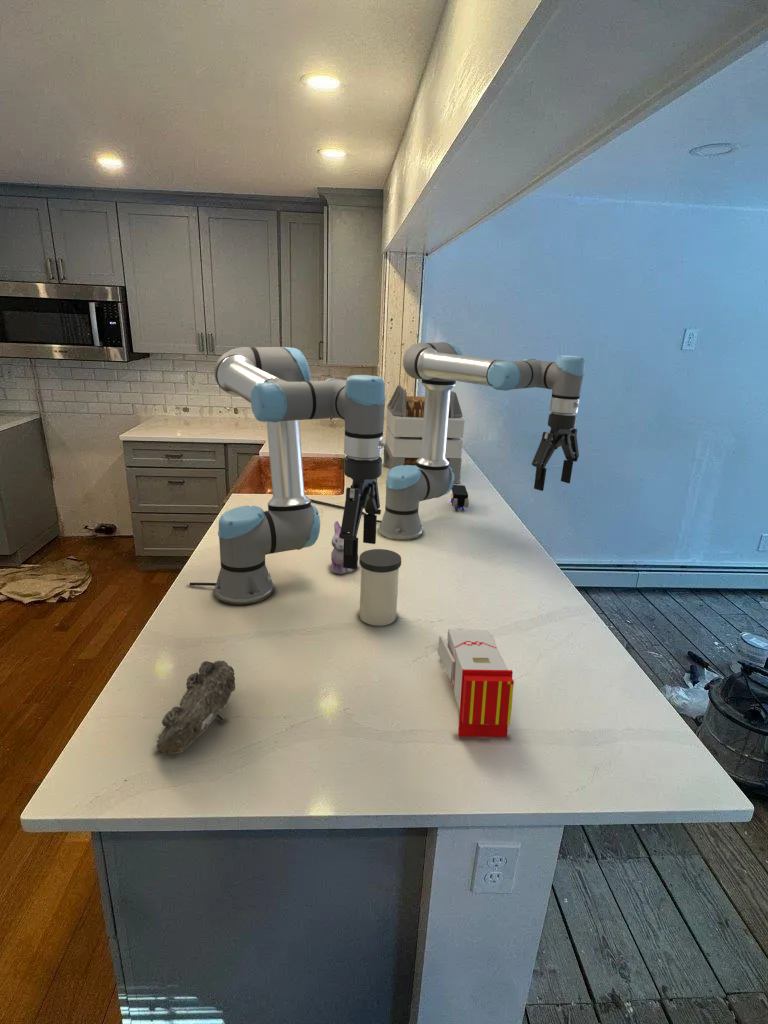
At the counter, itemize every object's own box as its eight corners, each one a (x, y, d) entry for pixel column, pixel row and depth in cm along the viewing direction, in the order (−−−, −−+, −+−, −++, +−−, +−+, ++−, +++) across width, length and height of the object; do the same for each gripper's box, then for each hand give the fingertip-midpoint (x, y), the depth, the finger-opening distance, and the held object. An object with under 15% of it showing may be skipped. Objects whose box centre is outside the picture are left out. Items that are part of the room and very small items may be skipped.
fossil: (184, 662, 117) (235, 629, 112) (216, 692, 120) (268, 662, 115) (132, 748, 97) (191, 713, 92) (172, 781, 100) (232, 750, 95)
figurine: (336, 577, 165) (336, 529, 160) (323, 563, 174) (323, 517, 169) (365, 572, 170) (367, 525, 164) (351, 558, 178) (352, 514, 173)
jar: (402, 621, 144) (406, 563, 139) (368, 628, 140) (371, 569, 135) (386, 604, 152) (388, 549, 147) (353, 610, 148) (355, 554, 143)
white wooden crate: (382, 463, 289) (386, 382, 275) (445, 464, 293) (451, 384, 279) (390, 482, 257) (394, 392, 243) (460, 483, 261) (468, 394, 247)
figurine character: (468, 516, 224) (463, 500, 237) (471, 498, 221) (465, 483, 234) (452, 515, 224) (447, 499, 237) (453, 498, 220) (449, 482, 234)
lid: (408, 568, 139) (409, 562, 138) (369, 575, 134) (370, 569, 134) (389, 552, 148) (389, 546, 147) (352, 558, 143) (352, 552, 143)
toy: (488, 613, 130) (523, 677, 101) (484, 667, 133) (517, 744, 104) (435, 612, 130) (455, 676, 101) (432, 666, 133) (451, 743, 103)
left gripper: (363, 474, 100) (359, 582, 107) (396, 444, 122) (392, 535, 130) (323, 469, 101) (322, 576, 108) (363, 441, 124) (360, 531, 131)
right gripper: (548, 419, 148) (537, 496, 155) (598, 411, 163) (586, 482, 171) (525, 414, 153) (515, 489, 160) (575, 407, 169) (564, 476, 176)
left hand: (360, 554), depth 119 cm, fingers open, 13 cm apart
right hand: (552, 485), depth 166 cm, fingers open, 13 cm apart
